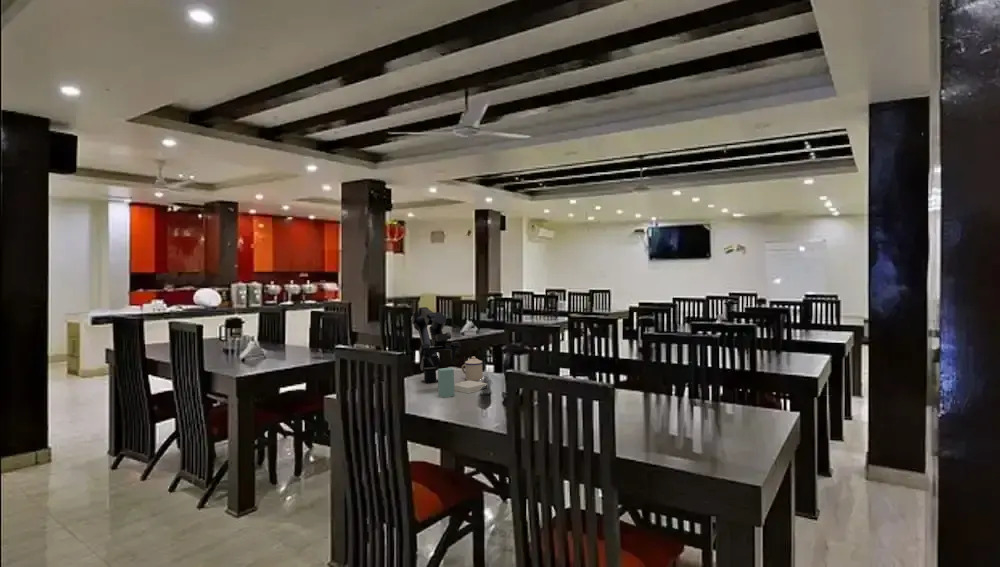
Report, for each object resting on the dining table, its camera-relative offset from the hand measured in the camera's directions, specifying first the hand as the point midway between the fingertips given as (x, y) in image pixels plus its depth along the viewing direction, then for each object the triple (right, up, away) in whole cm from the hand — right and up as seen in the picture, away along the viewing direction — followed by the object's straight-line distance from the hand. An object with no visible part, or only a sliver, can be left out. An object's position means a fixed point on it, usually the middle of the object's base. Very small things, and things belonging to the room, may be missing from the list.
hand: (443, 364), depth 273 cm
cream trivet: (+12, -12, +5) cm, 18 cm away
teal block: (+2, -13, -7) cm, 15 cm away
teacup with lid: (+12, -12, +28) cm, 32 cm away
